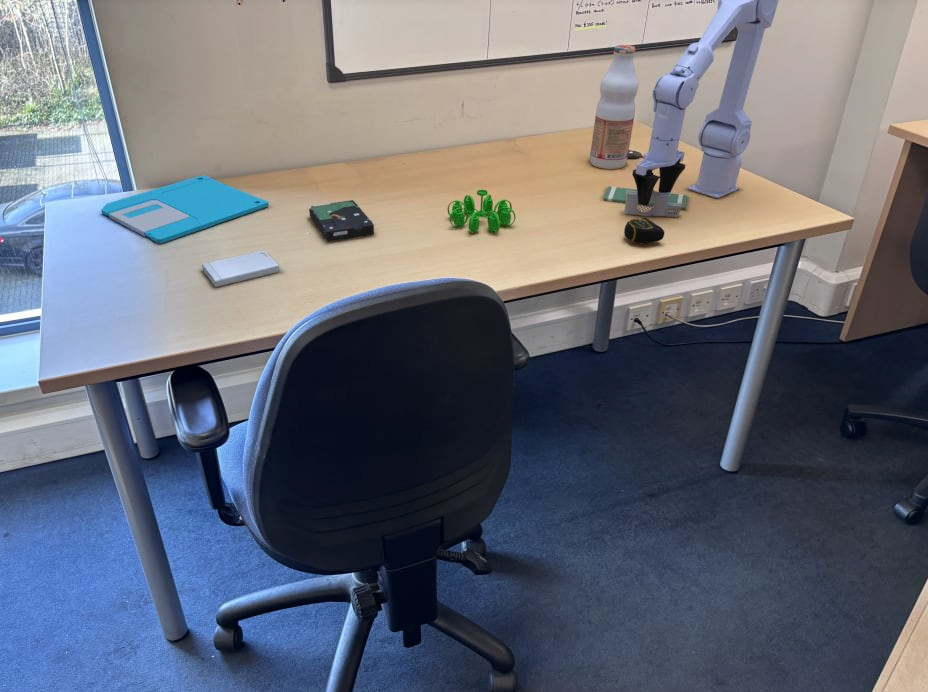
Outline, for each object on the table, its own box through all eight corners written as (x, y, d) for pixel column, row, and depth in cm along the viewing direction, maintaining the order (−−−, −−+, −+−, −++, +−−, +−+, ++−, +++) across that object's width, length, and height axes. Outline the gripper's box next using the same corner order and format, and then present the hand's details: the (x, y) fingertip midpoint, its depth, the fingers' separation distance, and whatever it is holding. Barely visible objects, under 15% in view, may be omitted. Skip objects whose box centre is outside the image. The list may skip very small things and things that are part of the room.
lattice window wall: (678, 215, 163) (683, 189, 160) (679, 218, 162) (684, 192, 159) (622, 212, 165) (626, 186, 162) (623, 215, 164) (627, 189, 160)
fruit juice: (581, 163, 192) (596, 46, 176) (602, 155, 197) (619, 41, 181) (612, 172, 186) (631, 52, 170) (633, 163, 192) (653, 46, 175)
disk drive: (375, 236, 155) (353, 210, 166) (375, 224, 153) (353, 198, 164) (327, 244, 151) (308, 217, 163) (326, 231, 150) (307, 205, 161)
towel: (607, 188, 177) (608, 186, 177) (686, 197, 172) (687, 195, 172) (603, 200, 171) (603, 197, 170) (684, 210, 166) (685, 207, 165)
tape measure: (663, 245, 151) (667, 227, 149) (634, 249, 149) (637, 231, 147) (645, 232, 156) (648, 215, 154) (616, 236, 154) (619, 219, 152)
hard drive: (263, 249, 146) (201, 262, 141) (279, 265, 140) (214, 279, 135) (264, 256, 147) (202, 270, 141) (280, 273, 141) (216, 288, 136)
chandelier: (436, 231, 157) (437, 199, 153) (457, 206, 168) (458, 176, 164) (505, 241, 152) (508, 209, 148) (522, 214, 164) (525, 184, 160)
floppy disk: (270, 206, 168) (269, 202, 167) (159, 244, 151) (159, 239, 150) (203, 178, 182) (203, 175, 182) (96, 211, 166) (95, 206, 165)
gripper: (668, 126, 160) (657, 187, 168) (628, 139, 152) (617, 202, 160) (697, 133, 156) (684, 196, 163) (657, 147, 148) (645, 212, 156)
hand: (653, 200), depth 161 cm, fingers open, 7 cm apart
